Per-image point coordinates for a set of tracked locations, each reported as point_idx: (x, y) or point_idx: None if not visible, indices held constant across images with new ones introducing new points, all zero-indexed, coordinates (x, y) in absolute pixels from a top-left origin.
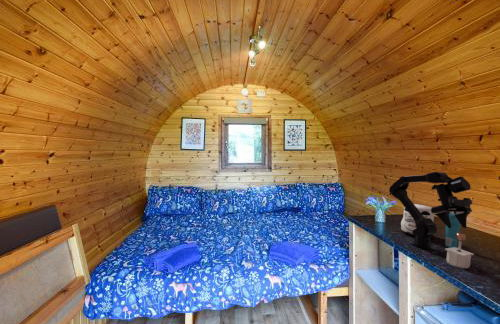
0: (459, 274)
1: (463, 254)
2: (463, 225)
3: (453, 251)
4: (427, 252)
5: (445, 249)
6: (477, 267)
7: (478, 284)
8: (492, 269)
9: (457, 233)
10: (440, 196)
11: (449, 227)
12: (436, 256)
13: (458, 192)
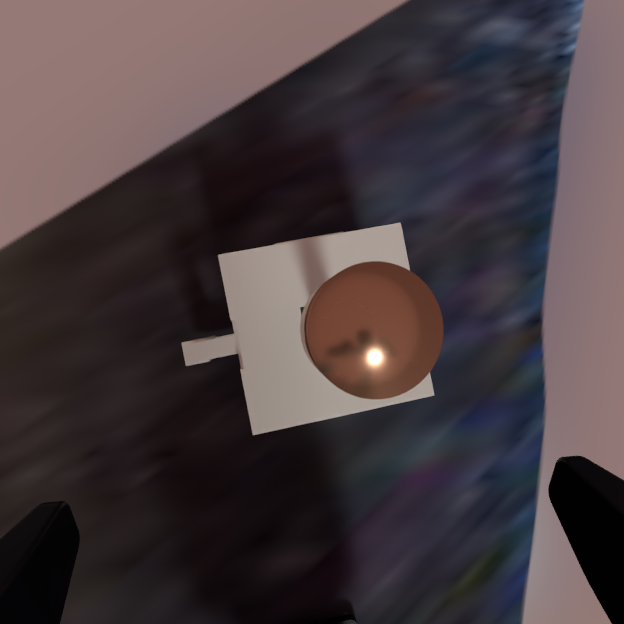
0: (476, 178)
1: (375, 243)
2: (48, 586)
3: None
4: (368, 553)
5: (429, 388)
6: (188, 261)
7: (479, 51)
8: (82, 220)
9: (420, 363)
10: None
11: (576, 483)
12: (360, 470)
13: None
